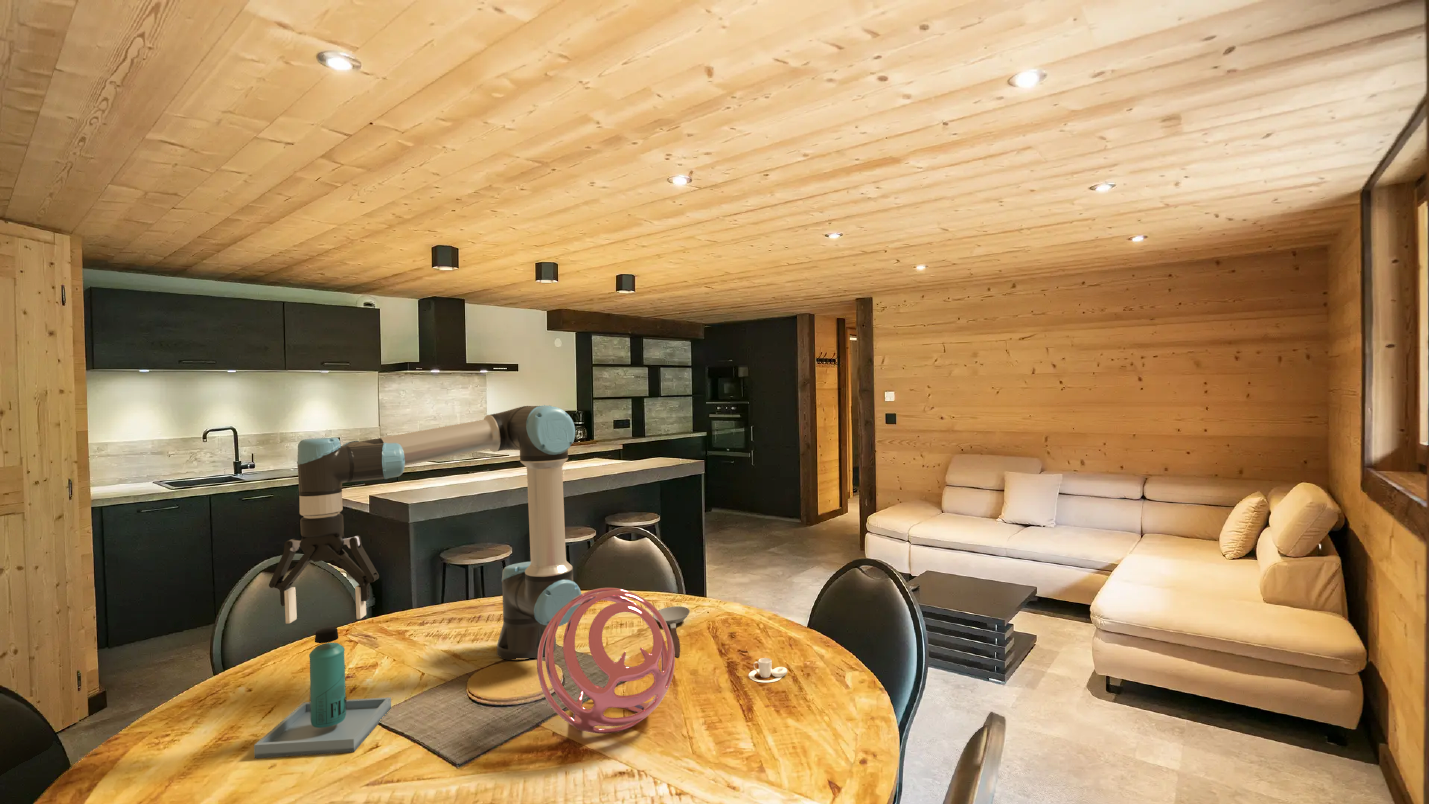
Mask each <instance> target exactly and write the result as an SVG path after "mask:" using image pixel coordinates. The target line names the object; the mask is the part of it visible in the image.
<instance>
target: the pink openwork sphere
mask: <svg viewBox="0 0 1429 804" xmlns="http://www.w3.org/2000/svg"><path fill="white" fill-rule="evenodd" d="M630 599H632V600H630ZM633 600H634V601H637V602H639V603H640V604H642V605H643V606H644V607H646V608H647V609H648V610H649V611H650V612H649V611H648V610H646V609H645V608H643V607H642V606H640V605H639V604H637V603H636V602H634V601H633ZM600 601H608V602H613V603H611V604H609V605H607V606H605V607H603V608H602V609H601V610H600V611H599V612H598V613H597V614H596V616H595V617H594V618H593V621H592V622H591V624H590V627H589V631H588V647H589V648H588V649H589V651H590V654H591V657H592V659H593V661H594V663H595V664H596V665H597V668H599V670H601V672H603V673H604V674H605V675H607V677H608V681H607V683H606V685H605V686H603V687H602V686H601V685H597V684H595V683H593V682H592V681H591V680H590V679H589V678H588V676H587V675H586V674H585V672H584V671H583V669H582V667H581V666H580V663H579V660H578V657H577V652H576V633H577V629H578V626H579V623H580V622H581V619H582V618H583V616H584V614H585V613H586V612H587V611H588V610H589V609H590V608H591V607H592V606H593V605H595V604H597V603H598V602H600ZM580 603H581V604H580ZM577 604H580V605H579V606H578V607H577V608H576V610H575V611H574V612H573V614H572V615H571V617H570V619H569V621H568V623H566V626H565V630H564V635H563V641H562V642H563V643H562V650H563V651H562V652H563V659H564V662H565V663H564V664H565V666H566V669H567V672H568V673H569V676H570V678H571V679H572V681H573V682H574V685H576V686H577V688H578V689H579V690H580V692H579V694H578V697H577V700H576V701H575V699H574V698H572V696H571V695H570V693H568V692H567V690H566V688H565V687H564V686H563V683H562V682H561V680H560V678H559V673H558V670H557V668H556V663H555V656H554V655H555V652H554V651H555V650H554V640H555V637H556V634H557V631H558V628H559V627H560V626H559V624H560V622H561V620H562V618H563V617H564V615H565V614H566V613H567V611H568V610H569V609H570V608H571V607H573V606H575V605H577ZM621 613H631V614H635V615H636V616H639V617H640V618H641V619H642V620H643V621H644V623H645V624H646V625H647V626H648V628H649V629H650V631H651V633H652V640H653V641H652V642H653V643H652V644H653V645H652V649H651V652H650V653H648V652H647V651H646V650H645V649H644V648H643V647H640V648H639V650H640V653H641V654H642V656H643V659H644V661H643V662H642V663H639V664H638V665H635V666H626V665H625V660H626V654H627V651H624V652H623V653H622V655H621V656H620V658H619V660H618V661H617V662H615V661H614V660H613V659H611V657H610V656H609V654H607V652H606V649H605V647H604V645H603V644H604V643H603V631H604V628H605V626H606V624H607V622H608V621H609V620H610V619H611V618H612V617H614V616H615V615H617V614H621ZM650 613H652V614H650ZM653 614H654V615H655V617H656V618H657V619H658V621H659V622H660V623H659V622H658V621H656V620H655V619H654V618H653ZM658 623H659V624H660V626H661V627H662V629H663V632H664V634H665V638H666V639H665V638H664V636H663V634H662V632H661V629H660V626H659V624H658ZM548 632H549V633H548ZM547 634H548V636H547ZM546 637H547V641H546V647H545V656H544V657H545V658H544V662H545V668H546V673H547V677H548V680H549V682H550V684H551V687H552V690H553V691H554V692H555V694H556V696H557V698H558V699H559V700H560V702H562V704H563V705H564V706H565V707H566V708H567V709H568V710H569V711H570V712H571V713H573V715H572V717H571V716H570V715H569V714H568V713H566V712H565V711H564V710H563V709H562V708H561V706H559V705H558V703H557V701H555V699H554V698H553V696H552V694H551V692H550V690H549V688H548V686H547V683H546V679H545V674H544V669H543V656H542V654H543V647H544V643H545V640H546ZM665 641H666V642H665ZM660 661H661V670H660V668H659V662H660ZM675 663H676V656H675V651H674V644H673V640H672V636H671V629H670V628H669V625H667V623H666V621H665V620H664V618H663V616H662V615H661V614H660V612H659V611H658V609H657V608H656V607H655V606H654V604H652V603H651V602H650V601H648V600H647V599H645V598H644V597H643V596H640V595H639V594H636V593H634V592H632V591H629V590H626V589H622V588H619V587H618V588H617V587H600V588H595V589H590V590H588V591H585V592H583V593H581V595H579V596H577V597H575V598H574V599H572V600H571V601H570V602H569V603H567V604H566V605H565V606H564V607H562V608H561V609H560V610H559V611H558V612H557V613H556V614H555V615H554V616H553V618H552V619H551V620H550V622H549V623H548V625H547V627H546V628H545V630H544V632H543V635H542V637H541V640H540V644H539V648H538V654H537V658H536V670H537V677H538V681H539V685H540V688H541V690H542V693H543V695H544V697H545V699H546V701H547V703H548V705H550V707H551V708H552V710H553V711H554V712H555V713H556V714H557V715H558V716H559V717H560V719H562V720H564V722H566V723H567V724H569V725H570V726H572V727H573V728H575V729H576V730H578V731H581V732H586V733H590V734H591V733H592V734H597V735H598V734H599V735H604V734H605V735H607V734H609V735H610V734H615V733H620V732H623V731H626V730H628V729H629V730H630V729H631V728H633V727H635V726H637V725H638V724H640V723H641V722H642V721H643V720H645V719H646V718H648V716H650V714H652V713H653V712H654V711H655V709H656V708H657V707H658V706H660V704H661V702H662V701H663V699H664V698H665V696H666V694H667V692H668V690H669V688H670V686H671V683H672V680H673V677H674V673H675ZM650 674H652V677H653V683H652V685H650V686H649V687H648V688H646V689H644V690H643V691H641V692H638V693H634V694H629V695H619V694H616V693H615V690H616V687H617V684H618V683H620V682H633V681H638V680H641V679H643V678H645V677H646V676H649V675H650ZM584 694H585V696H587V697H588V698H589V699H590V700H591V701H592V703H593V706H592V707H591V708H586V707H584V706H583V699H584V698H583V697H584ZM652 698H653V699H652ZM650 699H652V700H651V701H649V700H650ZM647 701H649V702H647ZM611 708H613V709H615V708H617V709H625V710H628V711H631V712H634V714H631V715H628V716H622V717H610V716H607V715H606V716H605V714H604V713H605V711H606V710H608V709H611ZM598 726H599V727H600V726H601V727H609V728H599V727H598ZM610 727H611V728H610Z"/></svg>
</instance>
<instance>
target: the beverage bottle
mask: <svg viewBox="0 0 1429 804" xmlns="http://www.w3.org/2000/svg"><path fill="white" fill-rule="evenodd" d="M314 635H315V637H314V643H316V644H319V645H317V646H316V647H314V648H313V650H311V652H309V655H308V657H309V680H310V681H309V683H310V685H309V695H308V696H309V700H308V702H309V703H310V705H311V706H310V707H311V708H310V709H311V724H312V726H313V727H317V728H323V727H329V726H333V725H336V724H338V723H340V722H342V721H343V720H344V719H345V716H346V709H347V708H346V705H347V704H346V700H347V694H346V693H347V692H346V688H347V686H346V678H347V675H346V669H347V667H346V663H345V662H346V661H345V647H344V646H343V645H341V644H340V643H338V642H335V641H336V640H338V639H339V632H338V627H334V626H329V627H323V628H319V629H317V630H316V631H315V633H314Z"/></svg>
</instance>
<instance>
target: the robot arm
mask: <svg viewBox="0 0 1429 804" xmlns="http://www.w3.org/2000/svg"><path fill="white" fill-rule="evenodd" d="M575 437H576V427H575V424H574V420H573V419H572V417H571V416H570V414H568V413H567V412H566V411H565V410H564V409H562V408H560V407H557V406H552V405H545V404H543V405H523V406H519V407H515V408H512V409H509V410H505V411H501V412H496V413H493V414H492V413H491V414H487V415H485V417H484V418H483V419H482V420H475V421H469V422H463V423H459V424H458V423H456V424H452V425H451V424H450V425H445V426H441V427H434V428H429V429H423V430H417V431H413V432H407V433H406V432H405V433H400V434H394V435H388V436H384V437H383V436H382V437H378V438H372V439H365V440H361V441H360V440H353V441H348V442H345V443H344V444H341V441H340V439H339V438H338V437H315V438H306V439H305V438H304V439H301V440H300V441H299V442H298V445H297V461H296V465H297V479H298V480H297V481H298V494H299V495H298V497H299V499H298V500H299V515H300V516H303V517H301V518H300V520H299V522H300V523H299V524H300V525H299V526H300V536H301V539H300V540H297V539H296V538H292V539H289V540H287V541H285V542H284V544H283V545H284V546H283V554H282V555H281V557H280V559H279V561H278V563H277V565H276V568H275V569H274V572H273V574H272V576H271V579H270V581H269V583H268V587H269V588H270V589H277V590H279V596H280V597H279V598H280V605H281V607H284V611H285V612H284V614H285V617H284V618H285V624H291V623H293V622H295V621H296V620H297V619H298V618H297V617H298V615H297V596H296V595H297V593H296V586H293V584H294V583H295V581H297V579H298V577H300V575H301V574H302V572H303V571H304V570H305V569H306V568H307V566H308V565H309V564H310V563H311V562H313V563H318V562H322V561H323V562H331V561H334V563H336V564H339V566H340V567H341V568H342V569H343V570H344V571H345V572H346V573H347V574H348V575H349V576H350V577H351V578H352V579H353V580H354V581H355V582H356V584H358V585H357V586H355V590H354V591H355V610H356V611H355V612H356V615H355V616H356V620H361V619H362V618H364V617H365V616H367V605H366V604H367V601H369V600H370V597H371V590H370V589H371V587H370V583H371V584H372V583H374V582H375V581H377V580H378V579H379V578H380V575H379V574H380V573H378V571H377V568H375V566H374V564H373V562H372V561H371V559H370V557H369V555H368V554H367V552H366V551H365V547H363V545H362V544H363V543H362V538H361V536H360V535H355V536H352V537H348V538H347V537H345V534H344V529H345V526H344V525H345V524H344V515H343V514H342V513H341V512H342V511H343V507H344V506H343V487H342V486H343V484H345V483H352V482H362V481H365V482H366V481H373V480H383V479H384V480H388V479H392V478H398V477H400V476H401V475H403V473H404V471H405V466H410V465H414V464H415V465H416V464H420V463H421V464H422V463H426V462H430V461H436V460H440V459H446V458H450V457H454V456H461V455H465V454H471V453H475V452H480V451H485V450H487V451H488V450H490V451H491V452H493V453H495V452H500V451H519V461H520V462H519V463H521V464H522V465H523V466H524V467H525V468H526V479H527V481H526V482H527V501H528V502H527V503H528V506H527V507H528V525H529V547H530V549H529V550H530V551H529V553H530V555H529V556H530V561H523V562H516V563H513V564H509V565H506V566H505V567H504V568H503V569H502V573H501V575H502V577H501V588H502V591H501V592H502V595H501V596H502V616H503V617H502V618H503V619H502V620H503V621H502V622H503V623H502V625H501V626H502V627H501V630H500V634H499V636H498V640H497V643H496V655H497V656H498V657H499V658H501V659H503V660H507V661H511V660H510V659H516V658H535V659H537V654H538V648H539V644H540V640H541V637H542V635H543V632H544V630H545V628H546V627H547V625H548V623H549V622H550V620H551V619H552V618H553V616H554V615H555V614H556V613H557V612H558V611H559V610H560V609H561V608H562V607H564V606H565V605H566V604H567V603H569V602H570V601H571V600H572V599H574V598H575V597H577V596H579V595H581V594H582V591H581V589H580V587H579V585H578V584H577V583H576V582H575V581H574V570H573V569H574V568H573V565H572V564H570V563H569V561H567V554H566V551H567V550H566V529H565V505H564V504H565V501H564V479H563V478H564V477H563V466H564V465H565V463H566V462H567V461H568V459H569V449H570V447H571V446H572V444H573V443H574V441H575ZM345 546H347V547H348V549H350V551H351V553H352V555H353V556H354V558H355V560H356V561H357V563H358V564H357V563H356V562H355V561H354V560H353V559H352V558H351V557H349V553H347V552H346V550H345V549H344V547H345ZM299 549H301V550H302V552H303V553H304V554H303V555H302V556H300V558H299V559H298V562H297V563H296V564H295V566H293V568H292V569H291V570H290V572H289V573H288V570H289V567H290V565H291V563H292V561H293V559H294V557H295V555H296V552H297V551H298V550H299ZM287 573H288V574H287ZM286 574H287V576H286ZM285 576H286V577H285ZM580 604H581V603H580ZM580 604H577V605H575V606H573V607H571V608H570V609H569V610H568V611H567V613H566V614H565V615H564V617H563V618H562V620H561V622H560V624H559V626H558V627H561V626H565V625H567V623H568V621H569V619H570V617H571V615H572V614H573V612H574V611H575V610H576V608H577V607H578V606H579V605H580ZM548 633H549V632H548ZM547 636H548V634H547ZM546 641H547V637H546V640H545V643H544V647H543V654H542V657H545V647H546ZM556 648H557V637H556V636H555V640H554V651H555V650H556Z"/></svg>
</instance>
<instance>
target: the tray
mask: <svg viewBox="0 0 1429 804" xmlns="http://www.w3.org/2000/svg"><path fill="white" fill-rule="evenodd" d="M309 702H310V701H305V702H302V703H301V704H300V705H299V706H298V707H296V708H295V709H294V710H293V711H292V712H290V714H289V715H287V716H286V717H285V718H284V719H283V720H281V722H279V723H278V724H277V725H276V726H274V727H273V728H272V729H271V730H270V731H269V732H267V733H266V734H265V735H264V736H263V737H262V738H261V739H259V740H258V741H257V742H255V744H254V745H253V749H254V751H253V755H254V756H253V757H254V759H264V758H265V759H266V758H281V757H282V758H283V757H297V756H298V757H299V756H312V755H313V756H314V755H327V754H329V755H330V754H344V753H346V754H347V753H355V752H356V751H357V749H358V748H359V747H360V746H361V745H362V744H363V742H364V741H365V740H366V739H367V738H368V736H369V735H371V733H372V732H373V731H374V730H375V729H376V728H377V726H378V725H379V724H380V722H381V721H380V719H382V717H383V716H385V717H386V715H387V714H388V713H389V712H390V711H391V710H392V697H391V696H390V697H375V698H374V697H372V698H357V699H356V698H355V699H346V704H347V705H346V708H347V709H346V716H345V719H344V720H343V721H342V722H340V723H338V724H336V725H333V726H329V727H323V728H317V727H313V726H312V724H311V709H310V708H311V707H310V706H311V705H310V703H309ZM390 709H391V710H390ZM389 710H390V711H389ZM388 711H389V712H388ZM387 712H388V713H387ZM385 714H386V715H385ZM382 720H383V719H382ZM379 721H380V722H379Z"/></svg>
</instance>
